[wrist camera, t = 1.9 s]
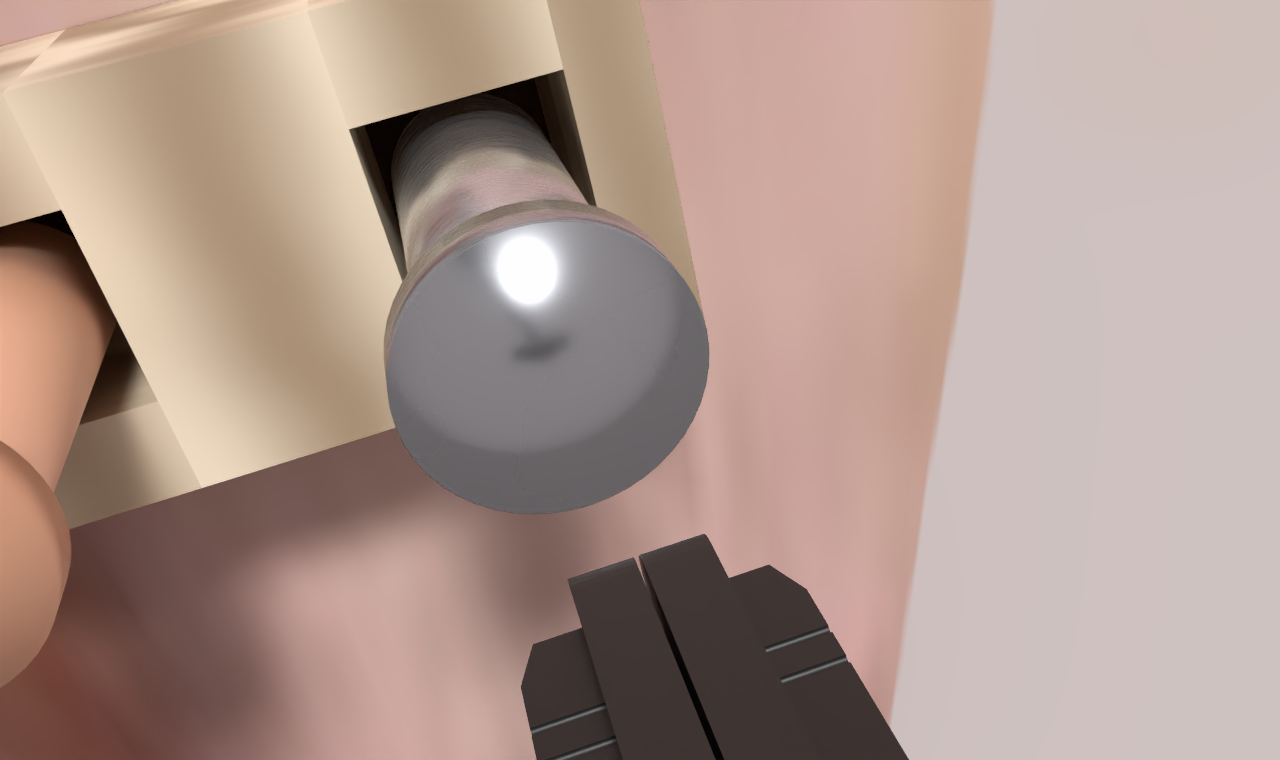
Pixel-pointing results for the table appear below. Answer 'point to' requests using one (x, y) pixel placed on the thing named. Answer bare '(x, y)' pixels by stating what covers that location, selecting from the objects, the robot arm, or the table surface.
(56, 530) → the terracotta plunger
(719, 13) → the table surface
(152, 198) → the beige rectangular block
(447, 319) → the steel plunger
